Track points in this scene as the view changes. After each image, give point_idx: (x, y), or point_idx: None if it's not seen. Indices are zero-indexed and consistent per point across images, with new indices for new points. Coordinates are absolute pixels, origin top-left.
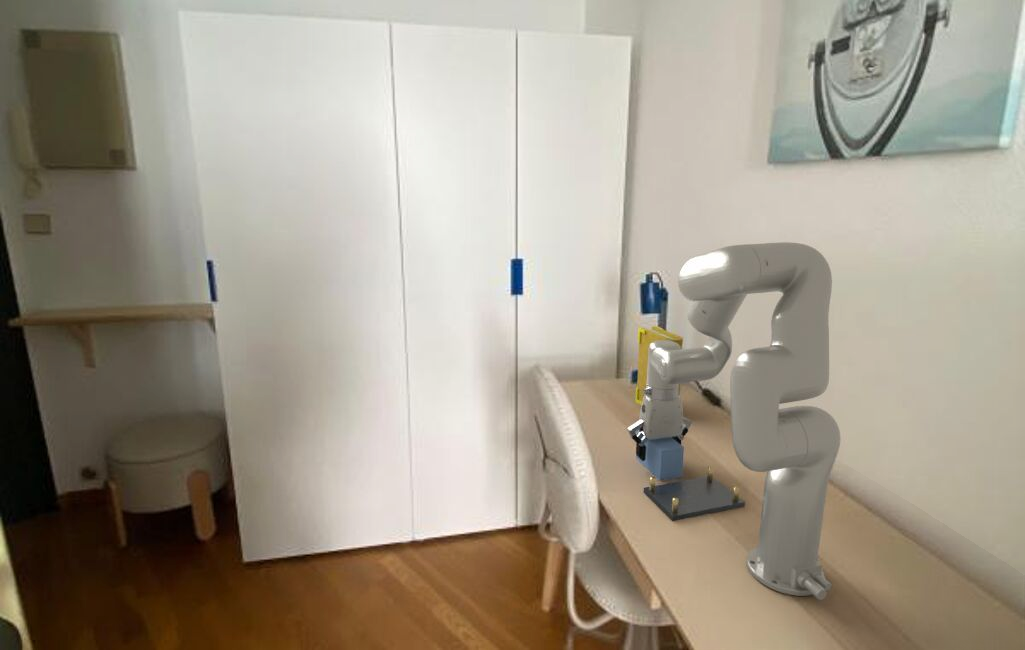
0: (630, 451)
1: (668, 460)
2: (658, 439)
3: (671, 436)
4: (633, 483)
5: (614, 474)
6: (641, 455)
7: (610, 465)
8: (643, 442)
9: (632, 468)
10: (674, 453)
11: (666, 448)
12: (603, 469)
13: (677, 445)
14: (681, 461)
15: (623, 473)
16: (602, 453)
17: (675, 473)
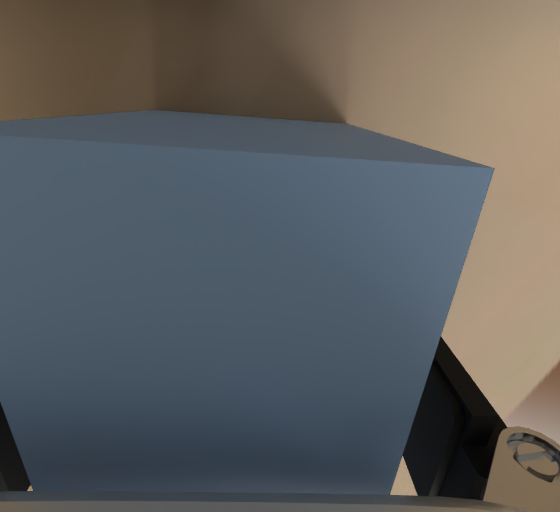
0: None
1: (290, 132)
2: (252, 490)
3: (32, 503)
4: (539, 158)
5: (549, 296)
6: None
7: (488, 380)
8: (533, 477)
9: None
10: (185, 134)
11: (330, 213)
12: (555, 357)
13: (31, 253)
14: (107, 117)
15: (494, 289)
16: None
17: (207, 115)
